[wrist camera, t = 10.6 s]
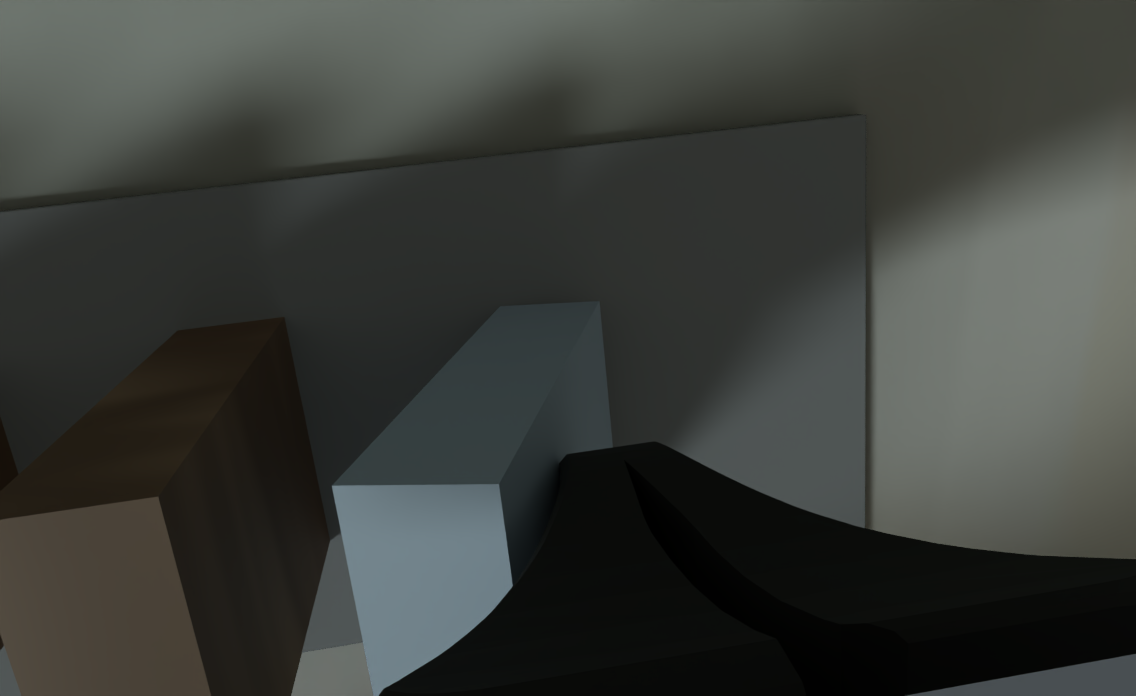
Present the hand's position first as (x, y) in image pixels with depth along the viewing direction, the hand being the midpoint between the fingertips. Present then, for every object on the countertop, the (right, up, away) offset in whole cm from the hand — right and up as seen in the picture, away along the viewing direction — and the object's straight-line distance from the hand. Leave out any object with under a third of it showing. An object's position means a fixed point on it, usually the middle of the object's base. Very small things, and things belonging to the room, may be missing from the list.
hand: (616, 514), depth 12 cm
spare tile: (-1, +1, +4) cm, 4 cm away
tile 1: (-6, +1, +4) cm, 7 cm away
